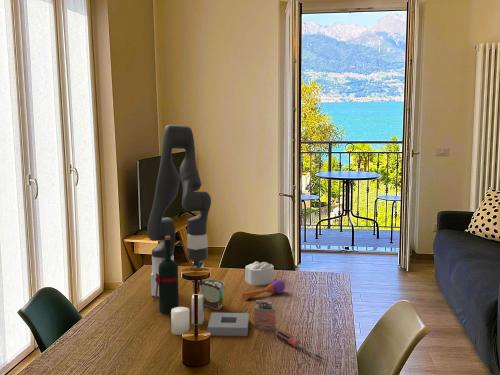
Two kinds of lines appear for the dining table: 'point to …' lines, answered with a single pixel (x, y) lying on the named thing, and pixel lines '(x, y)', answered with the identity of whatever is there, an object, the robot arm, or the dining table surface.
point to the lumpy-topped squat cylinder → (259, 273)
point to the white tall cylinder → (200, 309)
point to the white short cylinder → (180, 320)
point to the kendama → (266, 289)
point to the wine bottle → (167, 282)
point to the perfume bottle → (264, 315)
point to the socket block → (228, 324)
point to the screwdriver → (293, 341)
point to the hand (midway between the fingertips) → (198, 288)
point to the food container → (213, 293)
